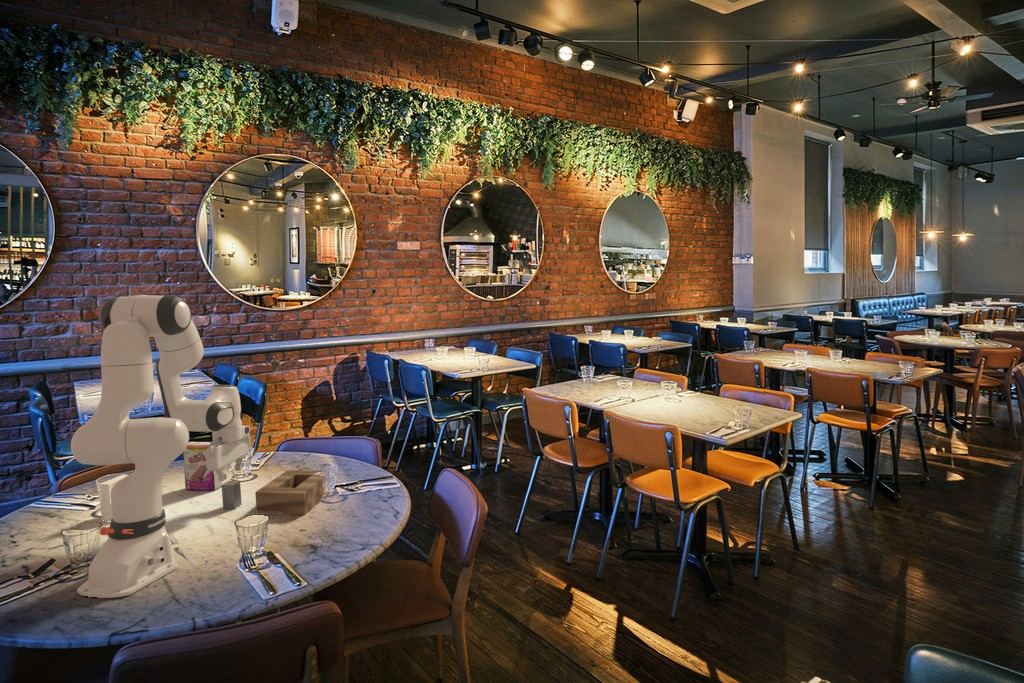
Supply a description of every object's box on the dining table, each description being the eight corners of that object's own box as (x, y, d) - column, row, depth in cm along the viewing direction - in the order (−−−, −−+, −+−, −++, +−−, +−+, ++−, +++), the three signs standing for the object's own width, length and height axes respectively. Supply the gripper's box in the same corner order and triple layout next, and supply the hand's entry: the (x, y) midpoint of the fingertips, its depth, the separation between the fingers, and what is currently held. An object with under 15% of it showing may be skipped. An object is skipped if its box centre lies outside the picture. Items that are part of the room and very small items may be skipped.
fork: (192, 570, 159) (192, 563, 159) (161, 543, 176) (161, 537, 176) (205, 566, 162) (205, 559, 161) (174, 539, 178) (173, 533, 178)
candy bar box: (184, 490, 218) (181, 445, 216) (193, 485, 223) (190, 441, 221) (215, 491, 217) (211, 445, 215) (223, 486, 222) (219, 441, 220)
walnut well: (305, 514, 194) (304, 493, 193) (256, 513, 196) (255, 492, 195) (332, 490, 216) (331, 470, 215) (288, 489, 217) (287, 469, 217)
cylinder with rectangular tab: (119, 522, 190) (116, 485, 189) (94, 521, 192) (91, 483, 191) (142, 511, 199) (139, 475, 198) (118, 510, 201) (115, 474, 199)
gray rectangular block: (234, 509, 200) (233, 485, 199) (223, 509, 200) (221, 485, 199) (241, 504, 204) (240, 481, 203) (230, 504, 204) (228, 480, 203)
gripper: (218, 443, 189) (221, 486, 191) (253, 425, 209) (255, 465, 211) (198, 442, 189) (202, 486, 191) (235, 425, 210) (238, 464, 211)
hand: (230, 475), depth 201 cm, fingers open, 8 cm apart
